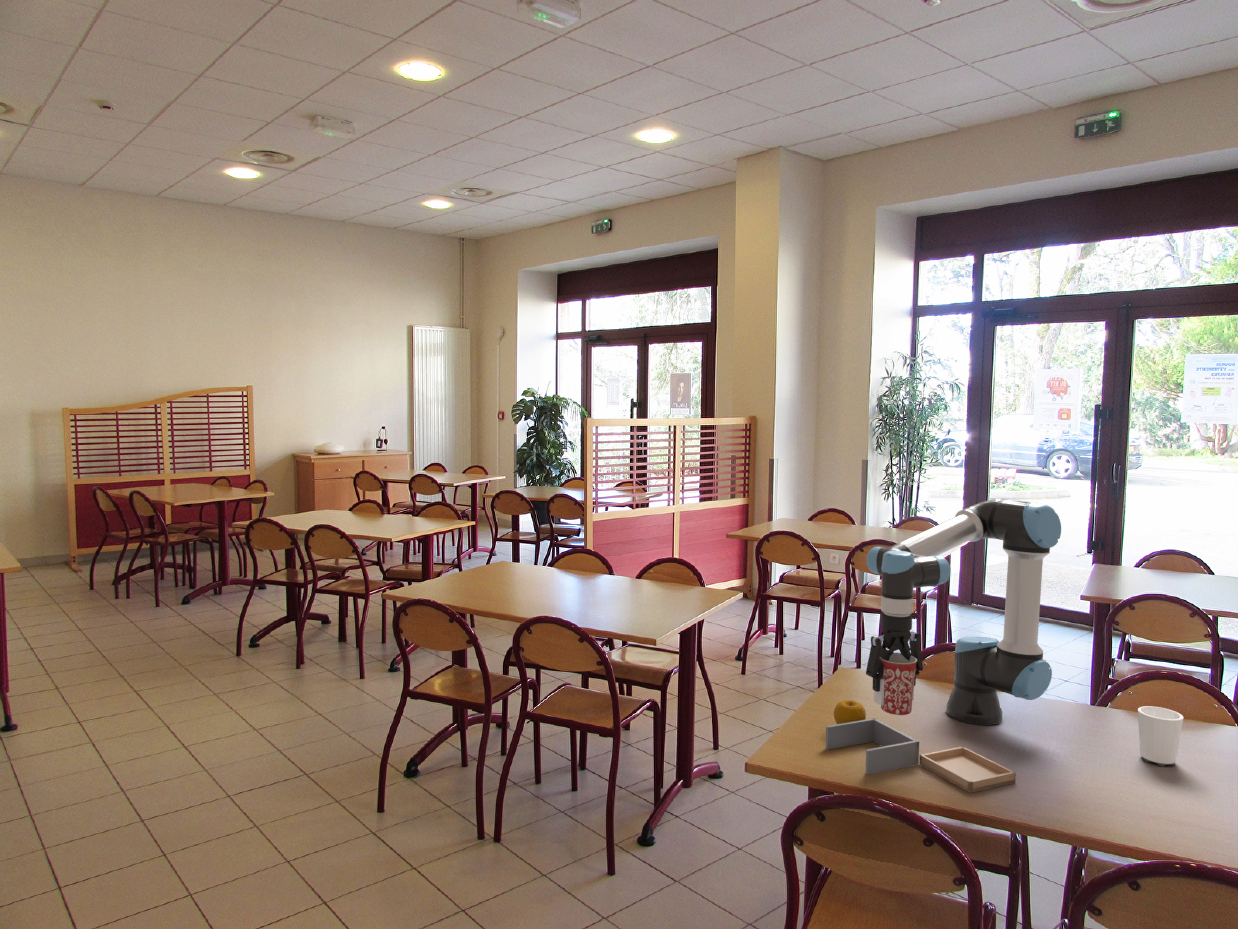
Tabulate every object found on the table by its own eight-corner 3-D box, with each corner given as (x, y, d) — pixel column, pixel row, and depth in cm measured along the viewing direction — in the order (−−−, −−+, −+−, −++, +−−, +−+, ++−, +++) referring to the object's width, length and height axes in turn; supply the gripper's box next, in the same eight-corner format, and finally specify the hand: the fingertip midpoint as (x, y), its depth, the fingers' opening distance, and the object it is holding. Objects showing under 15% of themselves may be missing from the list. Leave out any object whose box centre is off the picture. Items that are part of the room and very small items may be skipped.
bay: (873, 739, 221) (874, 718, 220) (918, 764, 205) (919, 741, 205) (825, 748, 215) (826, 726, 214) (867, 774, 199) (868, 751, 199)
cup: (1173, 756, 213) (1176, 709, 212) (1186, 772, 204) (1189, 722, 203) (1130, 750, 216) (1133, 704, 215) (1140, 765, 207) (1143, 717, 206)
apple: (831, 735, 223) (832, 703, 223) (835, 724, 231) (836, 694, 231) (863, 740, 220) (864, 708, 220) (866, 729, 228) (867, 698, 227)
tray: (962, 755, 211) (962, 746, 211) (1015, 782, 196) (1015, 772, 196) (919, 764, 206) (919, 754, 205) (970, 793, 191) (970, 782, 190)
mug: (917, 718, 199) (918, 664, 198) (878, 714, 201) (879, 661, 200) (912, 701, 211) (914, 650, 210) (876, 697, 213) (877, 647, 212)
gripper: (919, 606, 212) (916, 690, 213) (851, 613, 204) (849, 701, 205) (940, 612, 205) (937, 700, 206) (871, 620, 197) (869, 711, 198)
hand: (893, 701), depth 206 cm, fingers closed on mug, 9 cm apart
